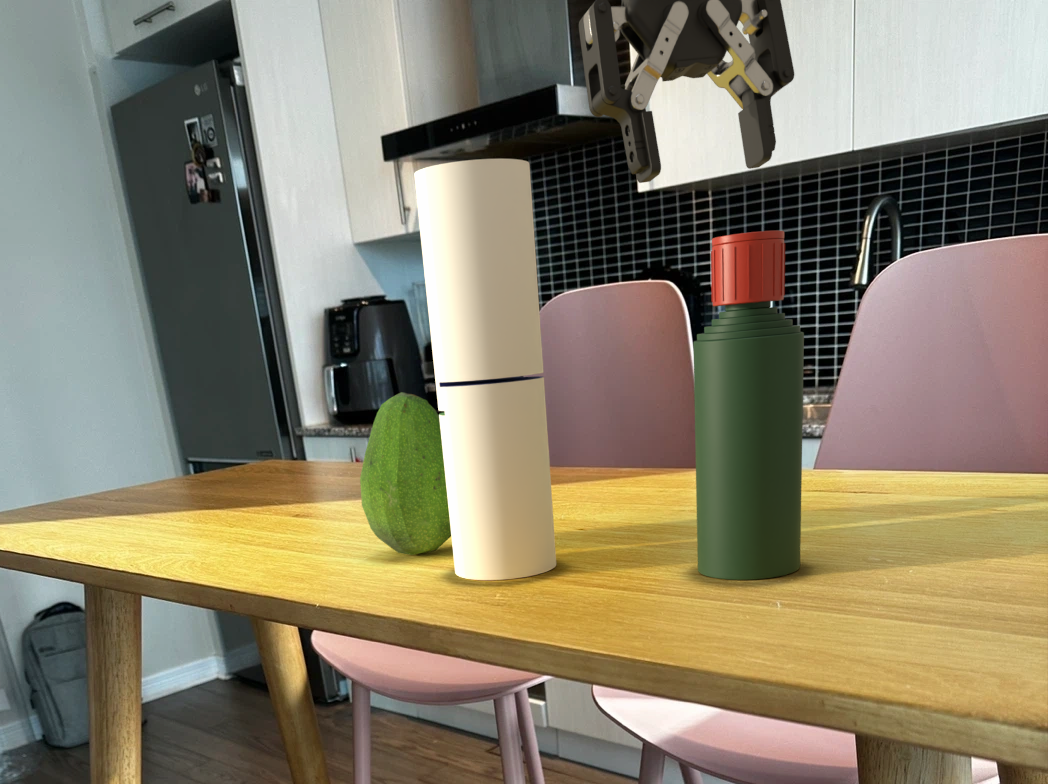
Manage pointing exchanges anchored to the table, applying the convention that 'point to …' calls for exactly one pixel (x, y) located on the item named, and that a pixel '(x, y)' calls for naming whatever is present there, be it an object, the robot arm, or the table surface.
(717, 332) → the bottle
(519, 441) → the cylindrical container
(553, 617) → the table surface
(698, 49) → the robot arm
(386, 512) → the avocado
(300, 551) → the table surface
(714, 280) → the cap
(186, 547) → the table surface
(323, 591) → the table surface
